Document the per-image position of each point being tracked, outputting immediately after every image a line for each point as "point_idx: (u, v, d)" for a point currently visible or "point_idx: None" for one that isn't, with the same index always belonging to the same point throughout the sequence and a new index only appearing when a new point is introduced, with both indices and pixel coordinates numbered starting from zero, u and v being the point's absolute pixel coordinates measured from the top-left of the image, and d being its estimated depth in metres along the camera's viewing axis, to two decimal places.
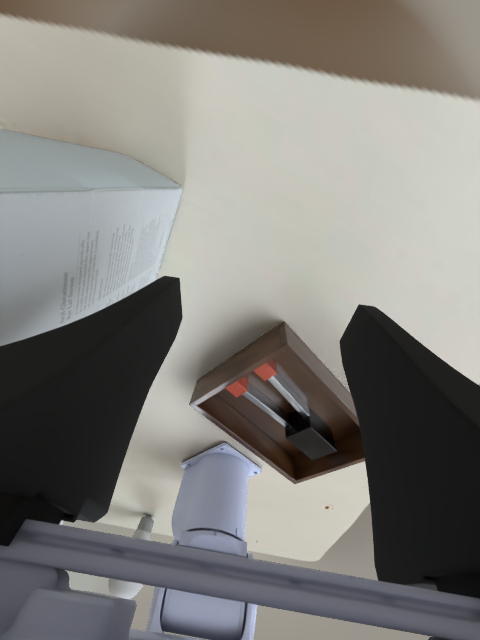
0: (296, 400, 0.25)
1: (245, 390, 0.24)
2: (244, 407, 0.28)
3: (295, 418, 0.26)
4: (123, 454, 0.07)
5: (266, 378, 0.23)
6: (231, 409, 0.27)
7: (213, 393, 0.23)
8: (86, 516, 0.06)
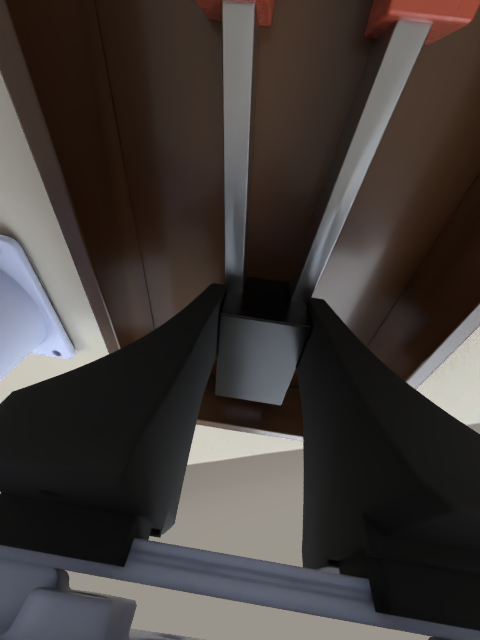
0: (335, 239, 0.08)
1: None
2: (156, 160, 0.08)
3: (265, 291, 0.09)
4: (186, 464, 0.07)
5: (412, 4, 0.04)
6: (108, 113, 0.07)
7: None
8: None
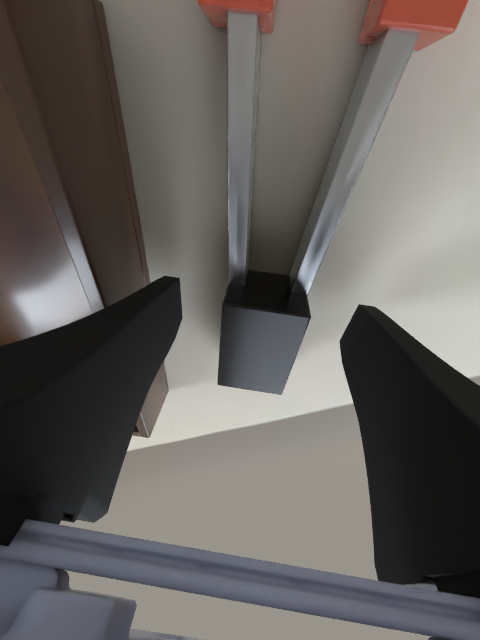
0: (332, 233, 0.08)
1: None
2: None
3: (266, 284, 0.10)
4: (123, 454, 0.07)
5: (401, 16, 0.05)
6: None
7: None
8: (86, 516, 0.06)
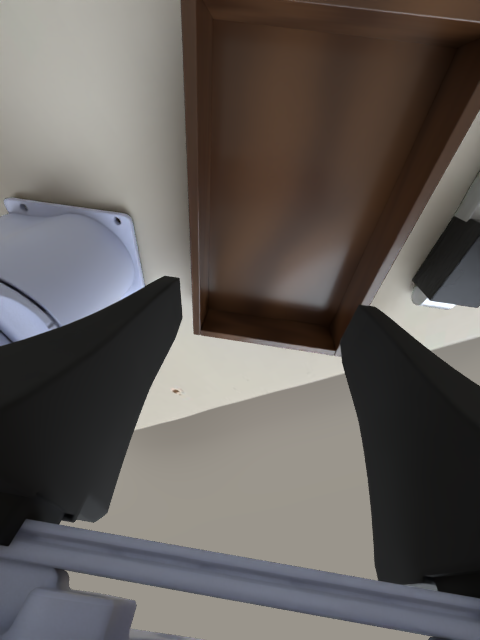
0: None
1: None
2: (228, 168, 0.14)
3: None
4: (123, 454, 0.07)
5: None
6: (209, 144, 0.13)
7: None
8: (86, 516, 0.06)
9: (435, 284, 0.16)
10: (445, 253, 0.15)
